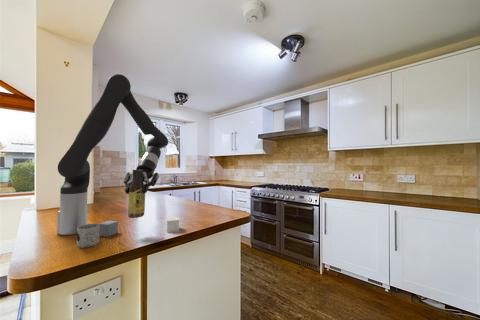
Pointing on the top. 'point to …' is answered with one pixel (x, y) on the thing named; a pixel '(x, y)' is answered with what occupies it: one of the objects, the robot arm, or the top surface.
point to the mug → (87, 235)
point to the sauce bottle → (136, 196)
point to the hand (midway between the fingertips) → (135, 192)
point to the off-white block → (172, 224)
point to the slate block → (108, 228)
